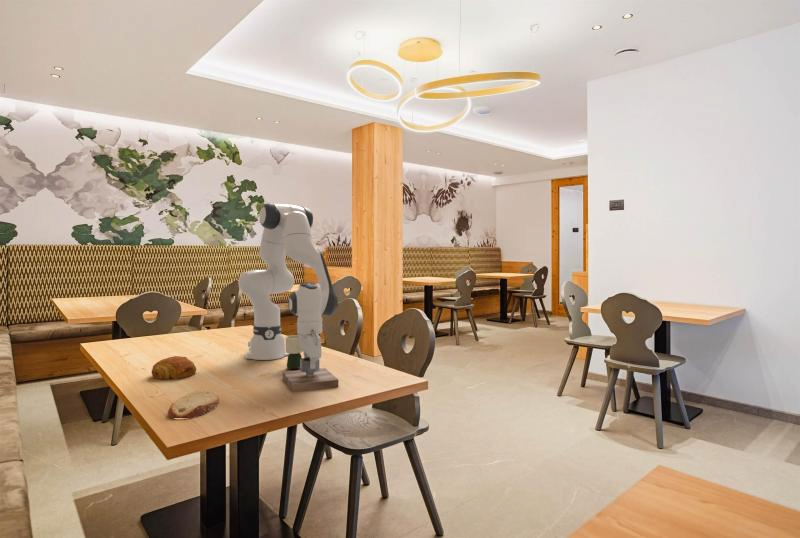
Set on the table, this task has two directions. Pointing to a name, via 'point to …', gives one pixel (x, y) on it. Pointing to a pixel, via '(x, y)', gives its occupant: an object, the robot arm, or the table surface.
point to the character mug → (293, 352)
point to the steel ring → (308, 365)
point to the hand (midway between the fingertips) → (309, 365)
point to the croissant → (173, 368)
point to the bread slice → (193, 404)
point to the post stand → (310, 380)
